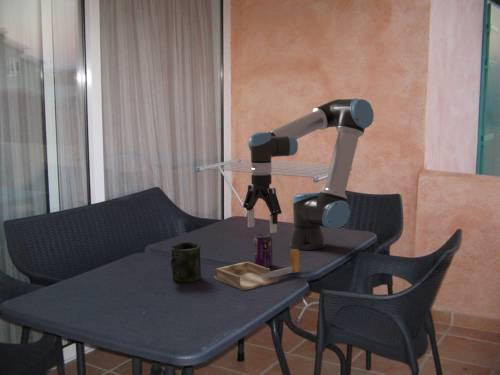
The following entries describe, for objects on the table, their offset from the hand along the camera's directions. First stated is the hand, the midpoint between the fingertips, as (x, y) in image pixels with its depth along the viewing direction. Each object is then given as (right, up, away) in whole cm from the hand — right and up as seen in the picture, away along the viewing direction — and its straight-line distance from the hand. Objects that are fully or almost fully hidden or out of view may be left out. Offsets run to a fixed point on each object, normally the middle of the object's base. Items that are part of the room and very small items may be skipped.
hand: (262, 229), depth 228 cm
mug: (-28, -17, -13) cm, 35 cm away
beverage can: (+1, -14, +2) cm, 15 cm away
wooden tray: (-7, -17, -14) cm, 23 cm away
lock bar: (+6, -15, -14) cm, 22 cm away
